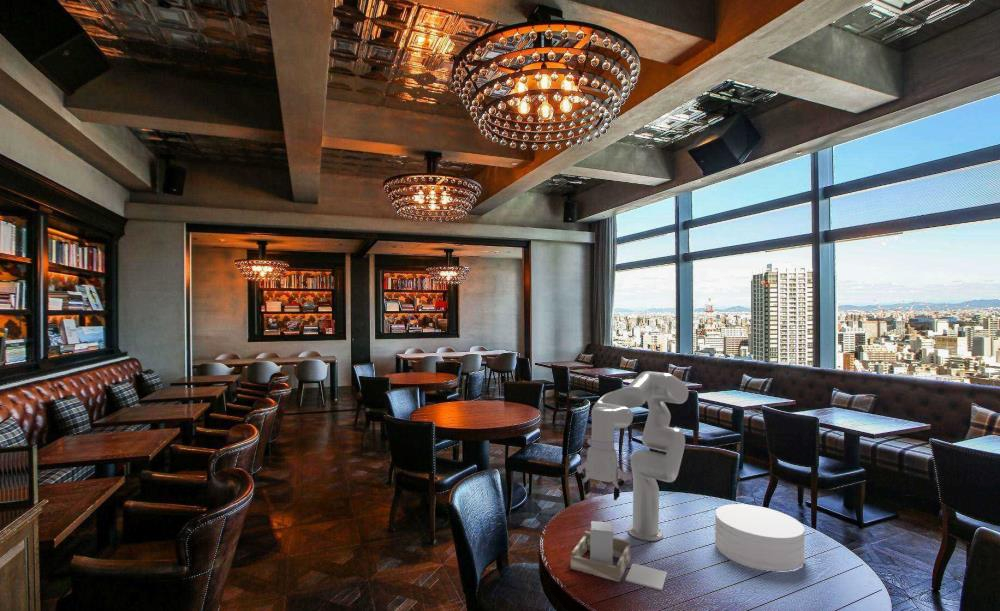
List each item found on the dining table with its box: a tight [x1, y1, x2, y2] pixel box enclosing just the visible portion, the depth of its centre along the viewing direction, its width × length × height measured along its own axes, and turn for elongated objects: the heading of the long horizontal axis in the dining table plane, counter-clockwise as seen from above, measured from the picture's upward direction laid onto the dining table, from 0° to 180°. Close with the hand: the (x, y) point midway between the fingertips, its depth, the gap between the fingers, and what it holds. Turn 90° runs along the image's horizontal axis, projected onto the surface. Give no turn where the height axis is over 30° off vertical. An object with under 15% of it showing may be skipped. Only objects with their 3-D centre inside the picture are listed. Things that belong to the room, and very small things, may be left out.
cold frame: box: [570, 530, 632, 583], centre depth 161 cm, size 16×16×6 cm
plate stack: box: [714, 503, 806, 571], centre depth 171 cm, size 28×28×12 cm
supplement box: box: [589, 520, 614, 566], centre depth 161 cm, size 7×7×13 cm
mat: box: [625, 562, 668, 591], centre depth 153 cm, size 11×11×1 cm
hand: (601, 496), depth 161 cm, fingers open, 9 cm apart
